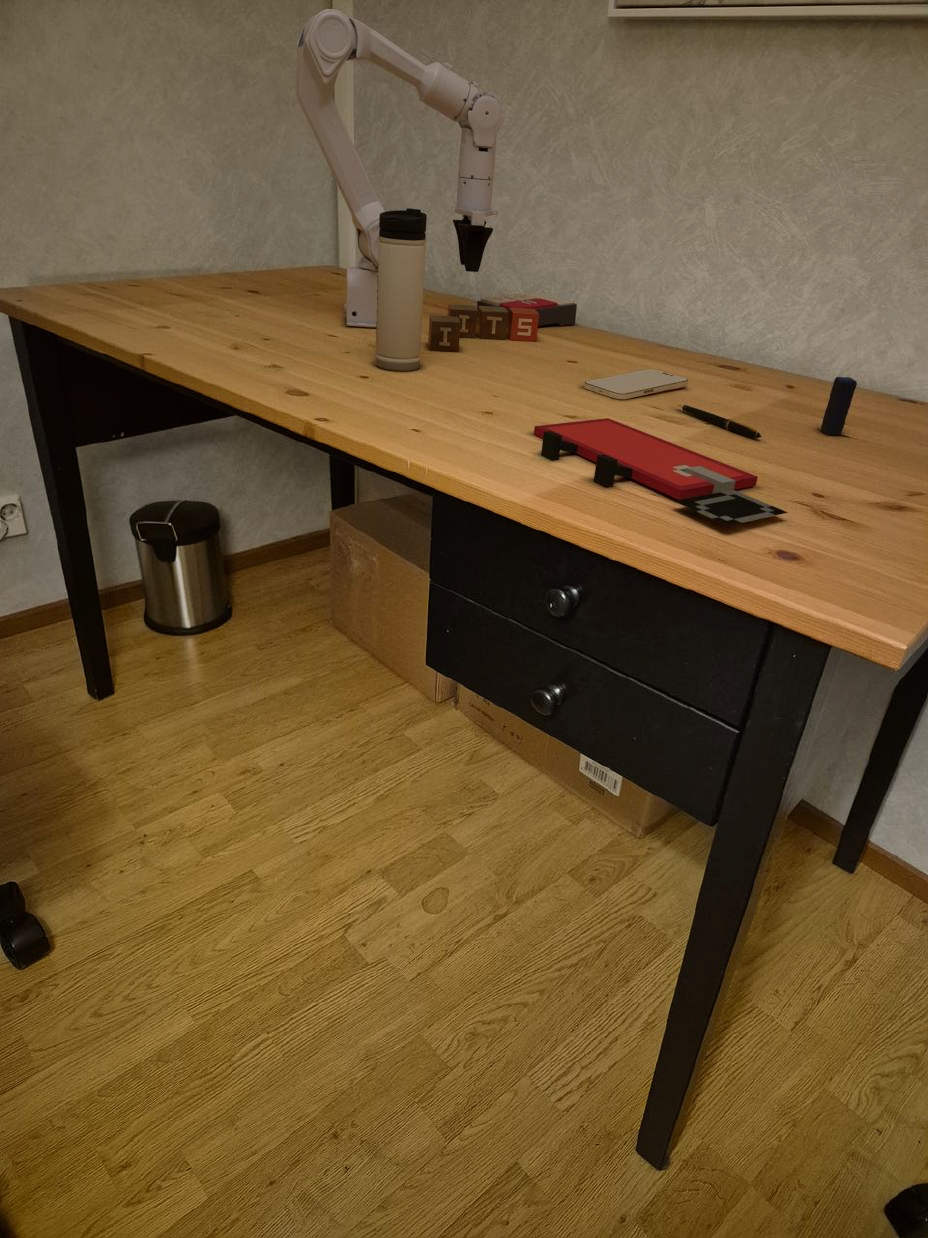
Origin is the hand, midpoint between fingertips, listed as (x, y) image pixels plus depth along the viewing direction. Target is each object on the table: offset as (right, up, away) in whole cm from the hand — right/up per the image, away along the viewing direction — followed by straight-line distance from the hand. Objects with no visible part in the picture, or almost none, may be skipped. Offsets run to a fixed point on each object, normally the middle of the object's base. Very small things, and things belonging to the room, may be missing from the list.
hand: (469, 268), depth 146 cm
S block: (+9, -12, -1) cm, 15 cm away
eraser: (+45, -37, -38) cm, 69 cm away
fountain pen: (+30, -36, -39) cm, 61 cm away
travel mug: (-10, -24, -25) cm, 36 cm away
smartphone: (+23, -27, -25) cm, 44 cm away
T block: (+4, -12, -2) cm, 13 cm away
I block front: (-4, -18, -12) cm, 22 cm away
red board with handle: (+18, -45, -57) cm, 75 cm away
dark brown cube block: (-1, -12, -2) cm, 12 cm away
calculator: (+10, -5, +12) cm, 17 cm away
